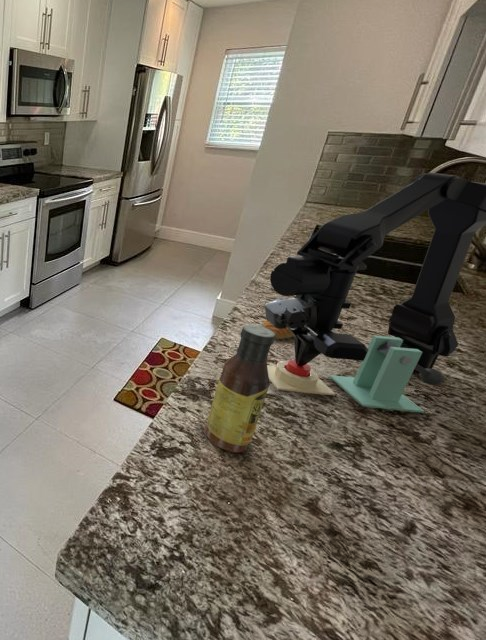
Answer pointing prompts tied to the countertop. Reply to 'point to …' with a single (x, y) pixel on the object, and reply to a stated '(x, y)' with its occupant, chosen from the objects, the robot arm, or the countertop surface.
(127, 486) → the countertop surface
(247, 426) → the sauce bottle
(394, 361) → the lever bracket
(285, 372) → the button block
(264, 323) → the pastry
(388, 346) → the press lever
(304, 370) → the button
